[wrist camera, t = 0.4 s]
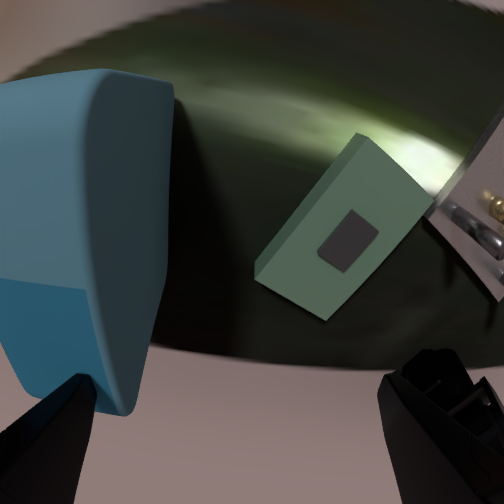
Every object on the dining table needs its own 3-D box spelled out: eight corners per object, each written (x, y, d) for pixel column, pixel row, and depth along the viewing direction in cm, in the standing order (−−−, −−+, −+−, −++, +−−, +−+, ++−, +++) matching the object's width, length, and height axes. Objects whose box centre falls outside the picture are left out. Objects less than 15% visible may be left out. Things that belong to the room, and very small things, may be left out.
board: (416, 187, 18) (437, 202, 15) (320, 298, 22) (326, 324, 19) (354, 131, 17) (370, 138, 14) (255, 258, 21) (254, 283, 18)
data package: (101, 83, 15) (-53, 94, 4) (177, 82, 15) (87, 63, 5) (105, 267, 20) (34, 411, 10) (168, 272, 21) (132, 433, 10)
